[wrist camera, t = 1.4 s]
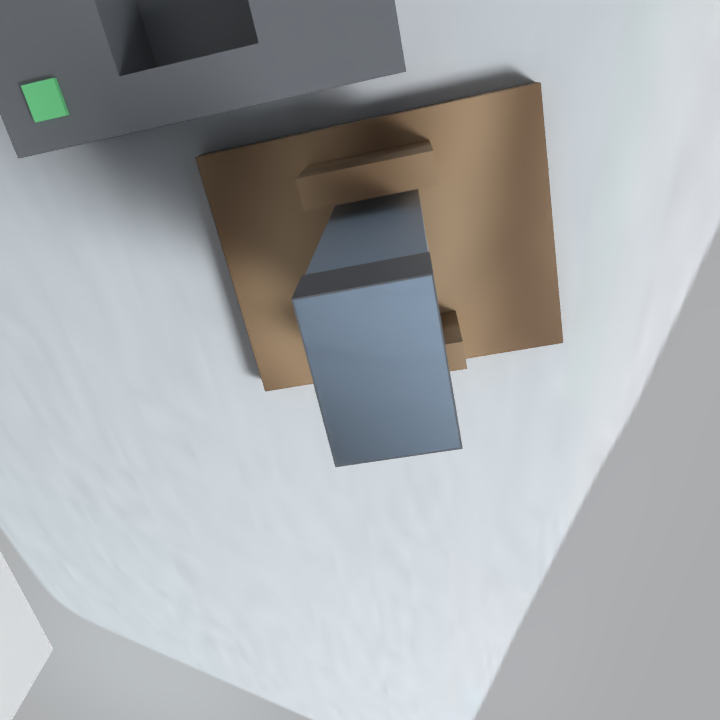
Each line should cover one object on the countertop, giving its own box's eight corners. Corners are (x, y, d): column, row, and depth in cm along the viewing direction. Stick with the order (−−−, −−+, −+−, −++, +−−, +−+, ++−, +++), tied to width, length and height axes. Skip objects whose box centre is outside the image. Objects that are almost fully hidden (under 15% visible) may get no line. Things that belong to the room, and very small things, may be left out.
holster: (535, 82, 26) (561, 86, 22) (558, 334, 30) (583, 376, 26) (202, 154, 28) (168, 170, 24) (269, 382, 32) (250, 429, 28)
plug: (419, 186, 27) (433, 273, 16) (438, 301, 29) (462, 448, 18) (333, 203, 27) (291, 299, 16) (358, 316, 29) (335, 467, 18)
